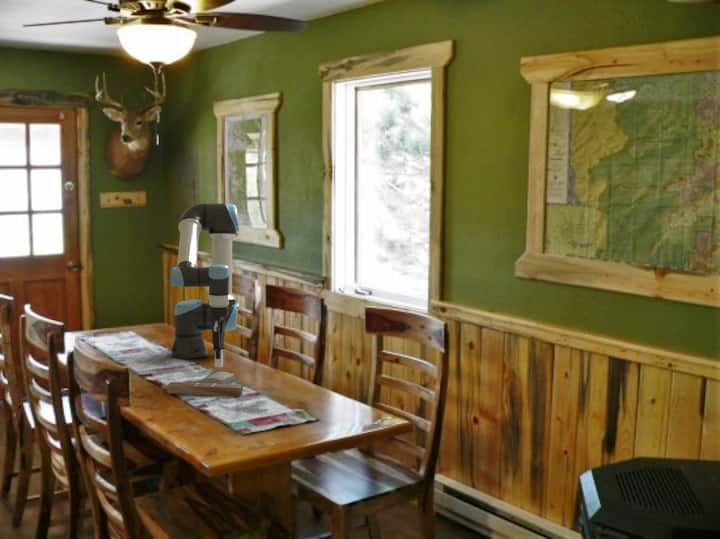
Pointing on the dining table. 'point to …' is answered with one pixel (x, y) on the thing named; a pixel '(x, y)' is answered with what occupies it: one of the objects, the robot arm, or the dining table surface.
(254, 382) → the dining table surface
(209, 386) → the tan wooden bar
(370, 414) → the dining table surface
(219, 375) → the stone block
